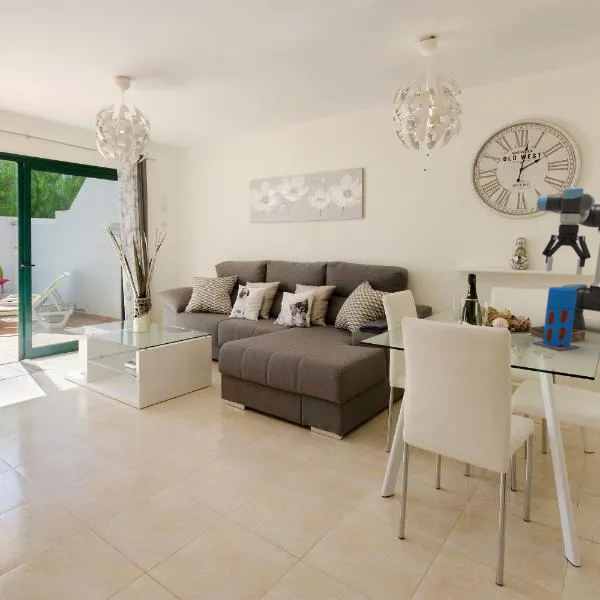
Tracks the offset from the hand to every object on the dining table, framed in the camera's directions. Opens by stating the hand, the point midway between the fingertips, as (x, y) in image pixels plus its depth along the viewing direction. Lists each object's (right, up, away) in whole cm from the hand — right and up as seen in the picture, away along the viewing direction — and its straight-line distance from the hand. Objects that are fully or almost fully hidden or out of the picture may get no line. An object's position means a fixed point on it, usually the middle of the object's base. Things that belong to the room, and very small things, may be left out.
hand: (563, 272), depth 200 cm
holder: (+8, -30, +19) cm, 36 cm away
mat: (-2, -32, +3) cm, 33 cm away
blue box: (-2, -32, +2) cm, 32 cm away
